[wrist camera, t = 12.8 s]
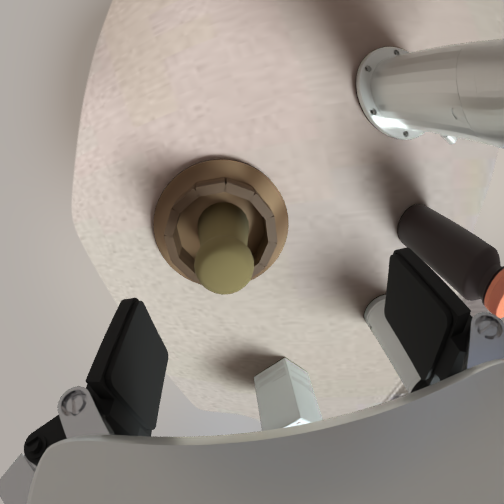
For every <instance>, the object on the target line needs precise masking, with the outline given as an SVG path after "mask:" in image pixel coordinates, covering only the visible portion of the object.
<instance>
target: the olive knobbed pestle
mask: <svg viewBox="0 0 504 504" xmlns="http://www.w3.org/2000/svg"><path fill="white" fill-rule="evenodd" d="M197 228H198V236H199V242H200V248H199V250H198V252H197V253H196V257H195V262H194V268H195V274H196V276H197V278H198V280H199V282H200V283H201V284H202V285H203V286H204V287H205V288H206V289H208V290H210V291H212V292H214V293H217V294H231V293H234V292H237V291H239V290H240V289H242V288H243V287H245V286H246V285H247V284H248V282H249V281H250V280H251V277H252V274H253V271H254V259H253V256H252V253H251V251H250V249H249V248H248V247H247V243H248V233H249V221H248V219H247V216H246V214H245V213H244V212H243V210H242V209H241V208H239V207H238V206H236V205H235V204H232V203H227V202H220V203H215V204H213V205H210V206H209V207H207V208H206V209H205V210H204V211H203V212H202V214H201V215H200V217H199V220H198V224H197Z"/></svg>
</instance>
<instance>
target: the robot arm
mask: <svg viewBox="0 0 504 504" xmlns="http://www.w3.org/2000/svg"><path fill="white" fill-rule="evenodd" d="M365 69H366V70H365ZM356 88H357V95H358V99H359V102H360V105H361V107H362V109H363V111H364V113H365V115H366V116H367V118H368V119H369V121H370V122H371V123H372V124H373V125H374V126H375V127H376V128H377V129H378V130H379V131H381V132H382V133H384V134H385V135H387V136H389V137H392V138H396V139H402V140H411V139H414V138H417V137H419V136H421V135H422V134H424V133H425V132H432V133H435V134H440V135H441V137H442V138H443V139H444V140H446V141H447V142H448V143H449V144H454V143H455V142H456V140H457V137H458V138H462V139H467V140H471V141H475V142H479V143H483V144H487V145H491V146H495V147H499V148H504V39H497V40H488V41H477V42H469V43H461V44H454V45H448V46H442V47H436V48H431V49H426V50H421V51H416V52H412V53H409V52H407V51H405V50H403V49H400V48H396V47H383V48H379V49H377V50H374V51H372V52H371V53H369V54H368V55H367V56H366V57H365V58H364V59H363V61H362V62H361V64H360V66H359V69H358V73H357V78H356ZM370 111H371V112H370ZM470 312H471V310H470V309H469V308H468V307H467V306H466V305H465V304H464V303H463V301H462V300H461V299H460V298H459V297H458V296H457V295H456V294H455V293H454V292H453V291H452V290H451V289H450V287H449V286H448V285H447V284H446V283H445V282H444V281H443V280H442V279H441V278H440V277H439V276H438V275H437V274H436V273H435V272H434V271H433V270H432V269H431V268H430V267H429V266H428V265H427V264H426V263H425V262H424V261H423V260H422V259H421V258H420V257H419V256H418V255H416V254H415V253H414V252H413V251H412V250H411V249H410V248H403V249H398V250H395V251H394V253H393V255H391V256H390V262H389V273H388V283H387V292H386V300H385V307H384V315H385V318H386V320H387V321H388V323H389V325H390V326H391V328H392V330H393V331H394V333H395V335H396V336H397V338H398V340H399V341H400V343H401V345H402V346H403V348H404V350H405V351H406V353H407V355H408V357H409V358H410V360H411V362H412V364H413V365H414V367H415V369H416V371H417V373H418V374H419V376H420V378H421V379H422V380H426V382H427V384H428V386H427V387H425V388H422V389H420V390H417V391H415V392H412V393H410V394H407V395H405V396H402V397H399V398H396V399H394V400H391V401H388V402H385V403H382V404H379V405H376V406H373V407H369V408H366V409H363V410H359V411H356V412H352V413H349V414H345V415H341V416H337V417H333V418H329V419H325V420H321V421H316V422H312V423H307V424H302V425H297V426H291V427H285V428H279V429H273V430H266V431H259V432H251V433H241V434H231V435H217V436H198V437H151V432H152V430H153V429H155V427H156V422H157V416H158V410H159V404H160V399H161V393H162V388H163V382H164V377H165V372H166V367H167V362H168V352H167V349H166V347H165V345H164V343H163V341H162V339H161V338H160V336H159V334H158V332H157V330H156V328H155V326H154V324H153V322H152V320H151V318H150V316H149V313H148V311H147V309H146V307H145V305H144V303H143V302H142V301H139V300H138V299H137V298H131V299H124V300H122V301H121V303H120V305H119V307H118V309H117V311H116V313H115V315H114V317H113V319H112V322H111V324H110V326H109V328H108V330H107V332H106V334H105V336H104V339H103V341H102V343H101V345H100V348H99V350H98V353H97V355H96V357H95V360H94V362H93V364H92V366H91V369H90V372H89V374H88V376H87V379H86V382H87V387H86V388H84V387H80V386H77V387H73V388H71V389H69V390H67V391H66V392H65V393H64V394H63V395H62V396H61V398H60V400H59V403H58V413H59V415H58V416H56V417H55V418H53V419H52V420H50V421H49V422H47V423H46V424H45V425H43V426H42V427H40V428H39V429H37V430H36V431H34V432H33V433H31V434H30V435H29V436H28V438H27V439H26V442H25V445H24V453H25V455H23V454H20V456H19V457H18V458H17V459H16V460H15V462H14V463H13V464H12V465H11V466H10V468H9V469H8V470H7V471H6V473H5V474H4V475H3V476H2V478H1V479H0V497H1V499H2V500H3V502H4V503H5V504H504V323H503V321H502V320H501V319H500V318H499V317H497V316H496V315H494V314H491V313H487V312H482V313H478V314H476V315H475V316H474V317H473V318H472V316H471V315H470Z"/></svg>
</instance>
